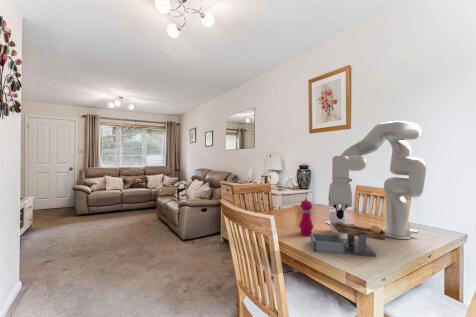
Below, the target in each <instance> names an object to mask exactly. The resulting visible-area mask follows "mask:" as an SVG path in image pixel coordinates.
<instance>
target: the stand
mask: <svg viewBox="0 0 476 317" xmlns="http://www.w3.org/2000/svg"><path fill="white" fill-rule="evenodd" d="M348 224H349V225H355V224H354V223H348ZM341 238H342V240H343V241H344V242H345V250H347V252H348V253H349V255H352V256H361V257H362V256H363V257H364V256H365V257H375V258H376V257H377V254H376V253H375V251H373V250H372V249H371V248H370V246H368V244H367V240H368V239H367V235H364V234H358V236H357V238H356V236H355V235H350V234H347V238H346V237H345V238H343V237H341Z"/></svg>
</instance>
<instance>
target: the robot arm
mask: <svg viewBox="0 0 476 317" xmlns="http://www.w3.org/2000/svg"><path fill="white" fill-rule="evenodd" d="M421 134H422V129H421V127H420V125H419V124H417V123H415V122H410V121H401V120H393V121H386V122H380V123H378V124H376V125H374V126H373V128H372V129H371V130H370V131H369V132H368V133H367V134H366V136H364V137H363V139H361V140H360V141H357V142H356V143H355V144H352V145H351V146H348V148H346V149H345V150H344V151H342V153H341V154H340V155H334V156H333V157H332V167H331V168H332V170H331V171H332V172H331V177H332V178H331V182H330V184H329V186H328V187H329V188H328V198H327V199H328V203H327V204H328V206H329V207H333V208H334V209H336V216H337V217H338V219H343V217H344V211H346V209H347V208H352V207H353V193H352V192H353V191H352V186H351V184H350V183H351V182H353V179H352V178H350V171H352V172H353V171H354V172H359V171H363V170H364V169H365V168H366V166H367V161H366V159H365V158H364V157H363V156H365V155H369V154H371V153H374V152H377V151H378V149H379V148H380V147H381V146H382V145H383V144H384V143H385V142H386V140H387V141H388V143H389V145H390V146H391V148H392V149H391V158H390V164H389V165H390V166H389V171H390V172H391V174H393V175H395V176H396V177H395V176H394V177H388V178H387V179H385V181H384V182H383V189H384V194H385V219H386V220H385V230H383V231H385V235H386V237H388V238H392V239H398V240H410V239H411V238H412V235H418V234H419V231H418V230H415V229H411V228H408V203H407V199H406V198H407V197H408V198H419V197H421V195H422V194H423V192H424V187H425V181H426V173H427V166H426V163H425V161H424V160H423V159H422V158H419V157H412V148H411V146H410V145H409V143H408V141H411V140H417V139H418V138H419V137H420V136H421ZM398 176H404V177H398ZM405 176H408V178H406V177H405ZM405 197H406V198H405Z"/></svg>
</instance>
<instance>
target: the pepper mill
mask: <svg viewBox="0 0 476 317" xmlns="http://www.w3.org/2000/svg"><path fill="white" fill-rule="evenodd" d="M300 208H301V213H302V215H301V219H300V222H299V224H298V225H299V228H300V231H299V234H300V235H301V236H304V237H311V233H313V229H314V224H313V222H312V219H311V213H312V210H311V209H312V208H313V204H312V202H311V201H310V200H309V198H308V197H305V198H304V200H302V201H301V203H300Z"/></svg>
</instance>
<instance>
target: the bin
mask: <svg viewBox="0 0 476 317" xmlns="http://www.w3.org/2000/svg"><path fill="white" fill-rule="evenodd" d="M342 238H343V237H341V236H340V234H335V233H333V234H332V233H330V234H329V233H318V232H317V233H316V232H312V233H311V236H310V244H311V247H312V250H313V252H314V253H315V252H316V253H328V254H339V255H346V248H345V242H344V241H343V240H342Z"/></svg>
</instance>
